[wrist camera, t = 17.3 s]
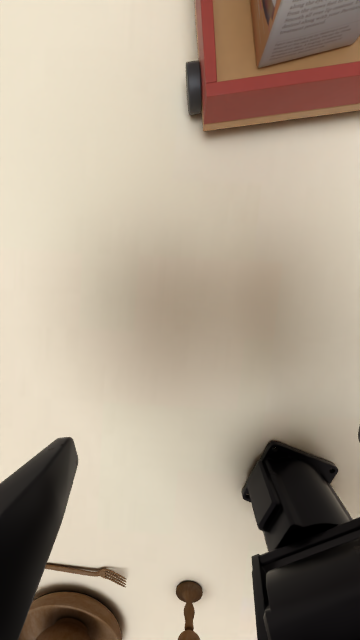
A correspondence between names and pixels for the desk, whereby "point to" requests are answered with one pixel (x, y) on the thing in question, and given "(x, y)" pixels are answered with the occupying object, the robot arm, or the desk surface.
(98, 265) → the desk surface
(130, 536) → the desk surface
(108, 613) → the place setting
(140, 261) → the desk surface
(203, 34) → the cart
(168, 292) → the desk surface
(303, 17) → the small box
